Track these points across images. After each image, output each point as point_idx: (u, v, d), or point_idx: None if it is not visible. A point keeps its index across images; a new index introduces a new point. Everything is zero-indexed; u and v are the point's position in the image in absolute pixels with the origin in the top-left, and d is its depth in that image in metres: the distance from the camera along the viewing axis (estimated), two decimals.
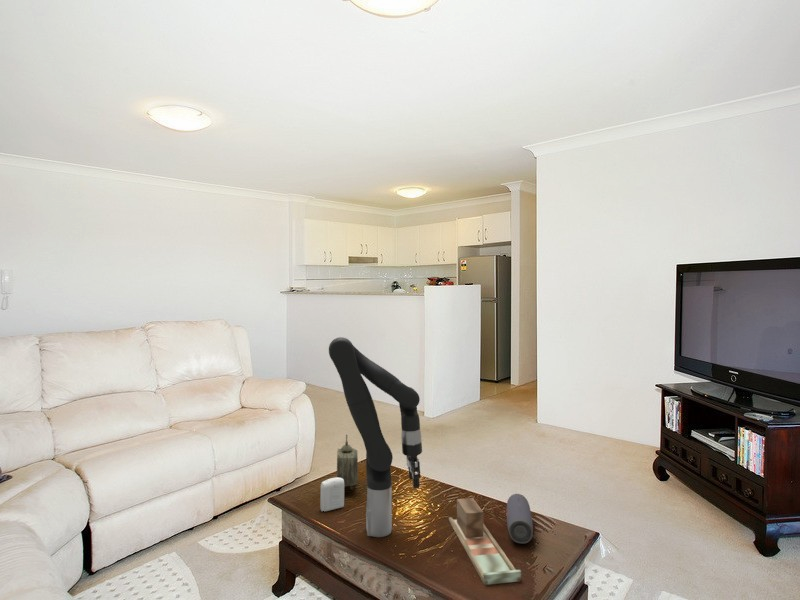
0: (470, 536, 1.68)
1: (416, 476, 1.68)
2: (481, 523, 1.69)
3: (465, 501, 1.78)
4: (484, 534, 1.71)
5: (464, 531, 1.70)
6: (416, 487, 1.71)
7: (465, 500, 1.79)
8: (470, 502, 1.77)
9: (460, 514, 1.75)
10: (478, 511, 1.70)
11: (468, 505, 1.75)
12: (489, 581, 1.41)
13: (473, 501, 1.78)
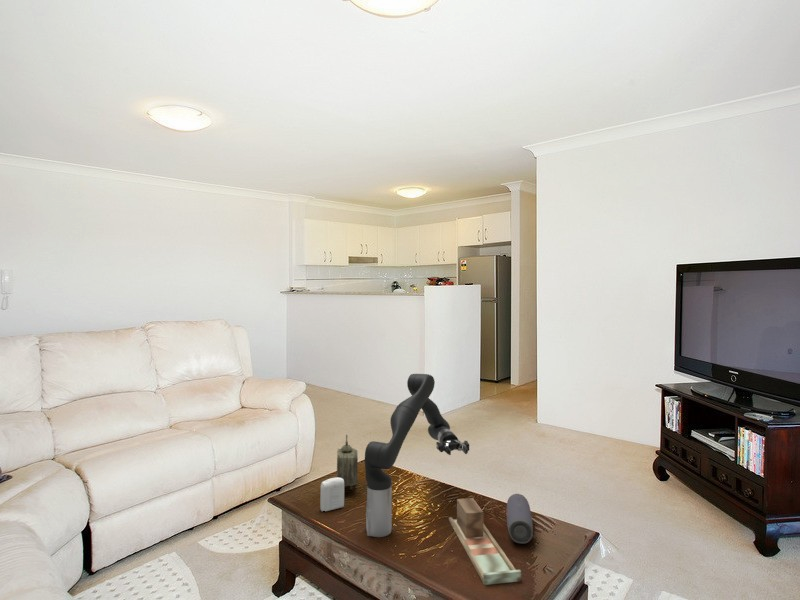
0: (470, 536, 1.68)
1: None
2: (481, 523, 1.69)
3: (465, 501, 1.78)
4: (484, 534, 1.71)
5: (464, 531, 1.70)
6: (467, 451, 1.90)
7: (465, 500, 1.79)
8: (470, 502, 1.77)
9: (460, 514, 1.75)
10: (478, 511, 1.70)
11: (468, 505, 1.75)
12: (489, 581, 1.41)
13: (473, 501, 1.78)
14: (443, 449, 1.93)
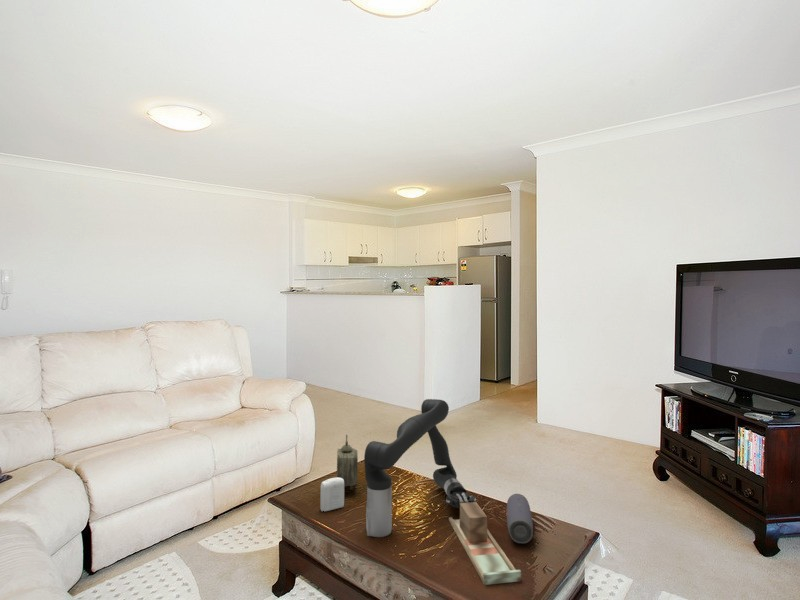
0: (474, 541, 1.65)
1: None
2: (485, 528, 1.65)
3: (469, 505, 1.74)
4: None
5: (467, 536, 1.66)
6: None
7: (468, 504, 1.75)
8: (473, 506, 1.73)
9: (463, 519, 1.72)
10: (482, 516, 1.66)
11: (471, 509, 1.71)
12: (489, 581, 1.41)
13: (476, 505, 1.74)
14: (459, 505, 1.81)
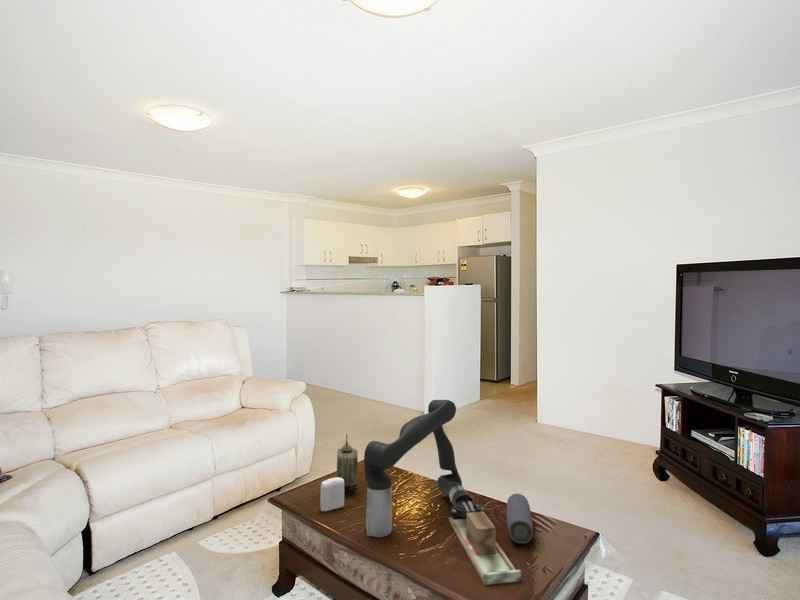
0: (481, 554, 1.57)
1: None
2: (493, 540, 1.58)
3: (476, 515, 1.66)
4: None
5: (475, 548, 1.59)
6: None
7: (475, 514, 1.67)
8: (480, 516, 1.65)
9: (470, 530, 1.64)
10: (490, 527, 1.58)
11: (478, 520, 1.63)
12: (489, 581, 1.41)
13: (484, 515, 1.66)
14: (465, 514, 1.73)
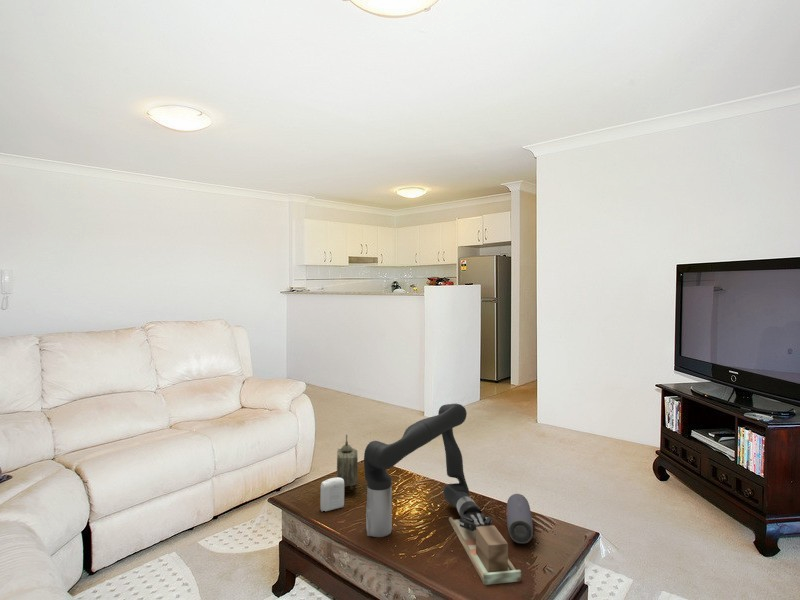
0: (493, 571, 1.47)
1: None
2: (505, 556, 1.47)
3: (486, 530, 1.56)
4: None
5: (486, 565, 1.48)
6: None
7: (485, 528, 1.57)
8: (491, 531, 1.55)
9: (480, 545, 1.54)
10: (502, 542, 1.48)
11: (489, 534, 1.53)
12: (489, 581, 1.41)
13: (495, 529, 1.56)
14: (474, 528, 1.63)
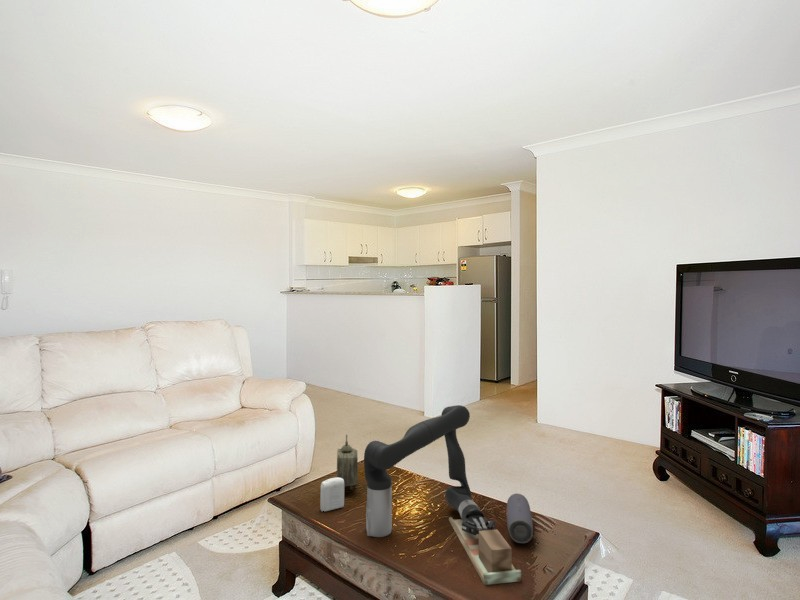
0: None
1: None
2: (509, 561, 1.45)
3: (489, 534, 1.53)
4: None
5: (489, 570, 1.46)
6: None
7: (488, 532, 1.54)
8: (494, 535, 1.53)
9: (483, 550, 1.51)
10: (505, 547, 1.45)
11: (492, 539, 1.50)
12: (489, 581, 1.41)
13: (498, 534, 1.53)
14: (477, 532, 1.60)
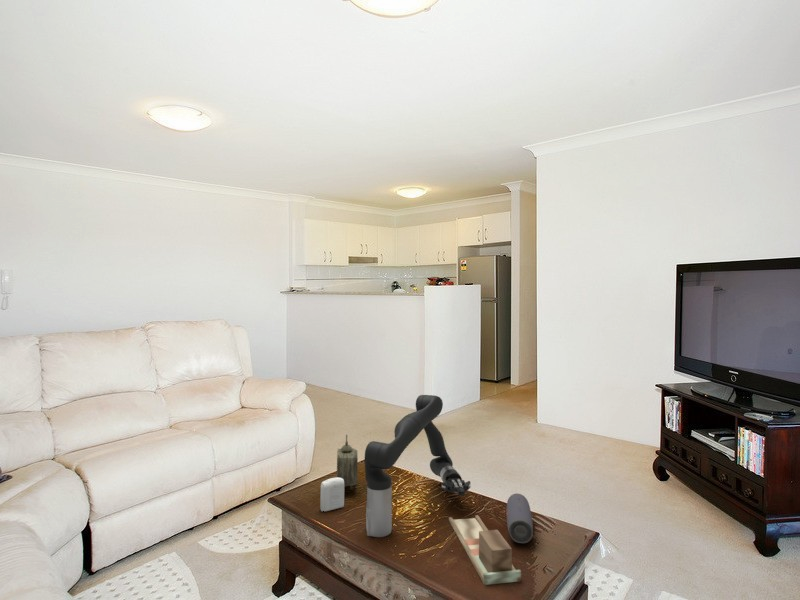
0: None
1: None
2: (509, 562, 1.44)
3: (489, 534, 1.53)
4: None
5: (489, 571, 1.45)
6: (463, 493, 1.83)
7: (489, 533, 1.54)
8: (494, 535, 1.52)
9: (483, 550, 1.51)
10: (506, 547, 1.45)
11: (493, 539, 1.50)
12: (489, 581, 1.41)
13: (498, 534, 1.53)
14: (454, 489, 1.87)
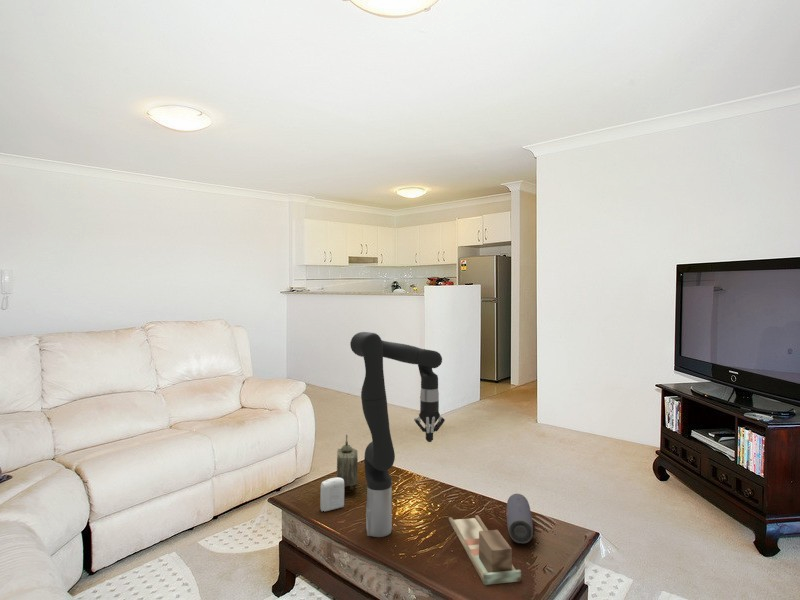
0: None
1: None
2: (509, 562, 1.44)
3: (489, 534, 1.53)
4: None
5: (489, 571, 1.45)
6: None
7: (489, 533, 1.54)
8: (494, 535, 1.52)
9: (483, 550, 1.51)
10: (506, 547, 1.45)
11: (493, 539, 1.50)
12: (489, 581, 1.41)
13: (498, 534, 1.53)
14: (424, 431, 1.88)
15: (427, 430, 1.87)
